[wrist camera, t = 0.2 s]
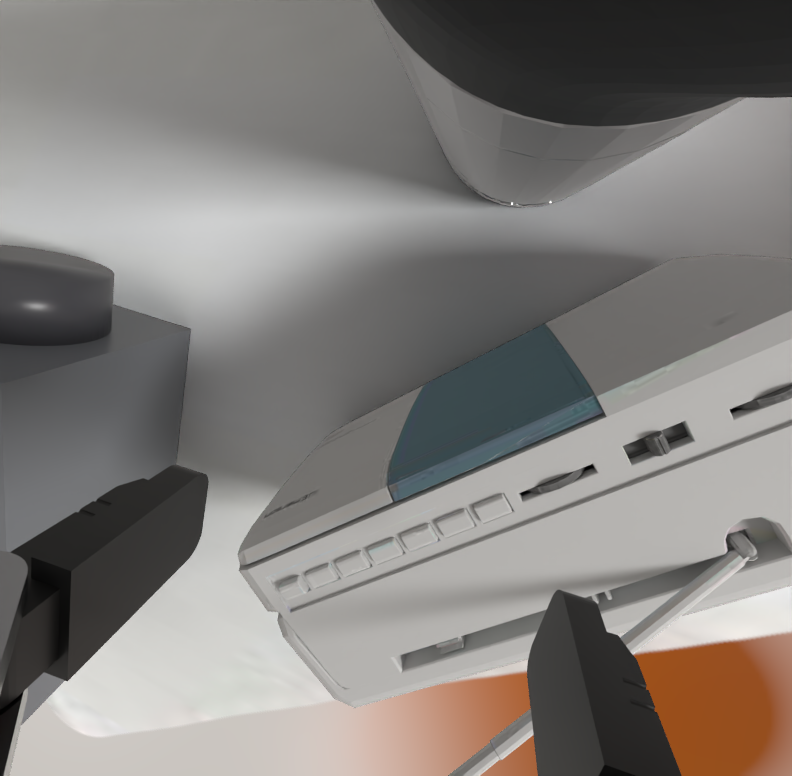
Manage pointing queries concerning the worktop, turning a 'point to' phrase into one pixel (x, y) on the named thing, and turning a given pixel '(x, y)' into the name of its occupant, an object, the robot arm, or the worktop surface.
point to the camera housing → (77, 396)
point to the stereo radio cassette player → (546, 490)
